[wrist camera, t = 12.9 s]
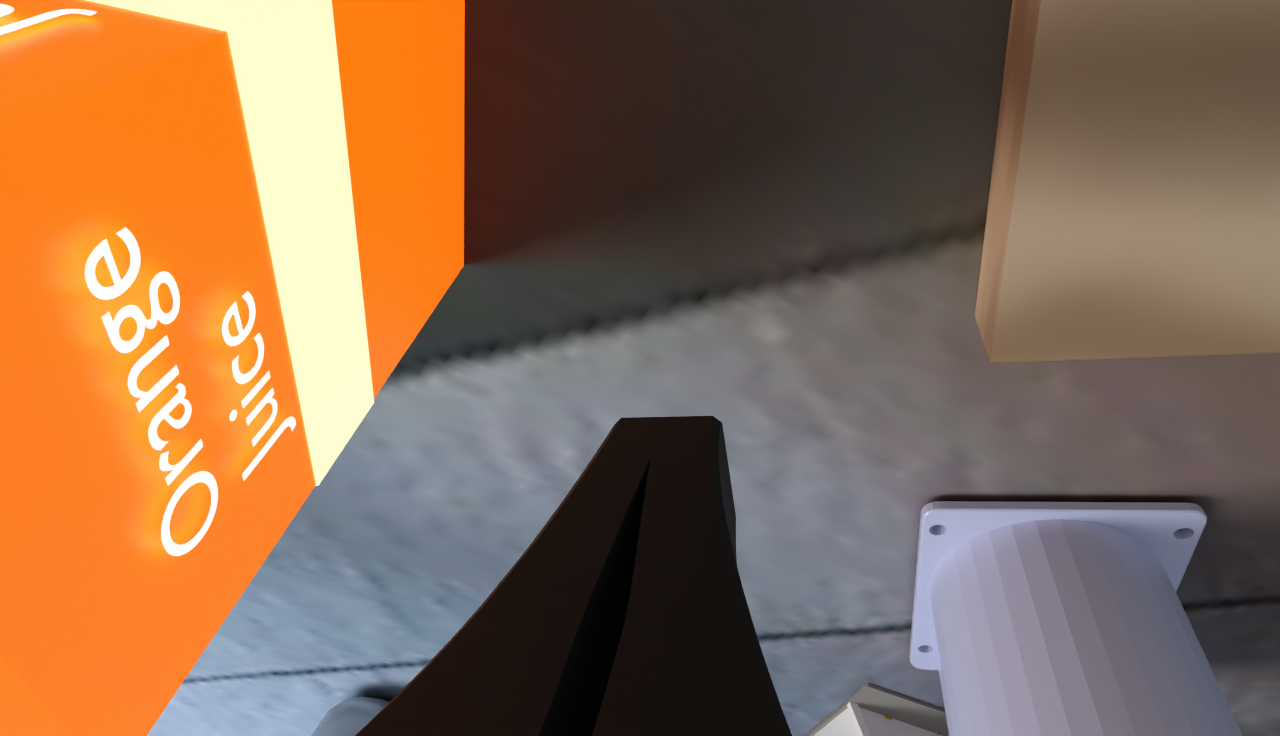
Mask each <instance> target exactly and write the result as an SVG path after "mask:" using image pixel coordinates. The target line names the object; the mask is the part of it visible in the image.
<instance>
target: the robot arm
mask: <svg viewBox="0 0 1280 736" xmlns="http://www.w3.org/2000/svg"><path fill="white" fill-rule="evenodd" d="M1206 523H1207V516H1206V514H1205V513H1204V511H1203V509H1202V508H1201V506H1199V505H1197V504H1194V503H1170V502H986V501H936V502H931V503H928V504H926V505H925V506H924V507H923V508H922V510H921V518H920V530H919V543H918V555H917V568H916V580H915V592H914V605H913V617H912V629H911V642H910V662H911V664H912V665H913V666H914V667H916V668H918V669H925V670H939V675H940V682H941V688H942V694H943V700H944V707H945V713H946V719H947V726H948V732H949V736H1243V735H1242V733H1241V731H1240V729H1239V727H1238V725H1237V722H1236V720H1235V718H1234V716H1233V714H1232V712H1231V709H1230V707H1229V705H1228V703H1227V701H1226V699H1225V697H1224V694H1223V692H1222V690H1221V688H1220V686H1219V684H1218V682H1217V679H1216V677H1215V675H1214V673H1213V671H1212V669H1211V667H1210V664H1209V662H1208V660H1207V658H1206V656H1205V654H1204V652H1203V649H1202V647H1201V645H1200V643H1199V641H1198V639H1197V637H1196V634H1195V632H1194V630H1193V628H1192V626H1191V624H1190V622H1189V619H1188V617H1187V615H1186V613H1185V611H1184V609H1183V606H1182V604H1181V602H1180V600H1179V598H1178V596H1177V594H1176V591H1177V589H1178V587H1179V585H1180V582H1181V580H1182V578H1183V575H1184V573H1185V571H1186V568H1187V566H1188V564H1189V562H1190V559H1191V557H1192V555H1193V552H1194V550H1195V548H1196V546H1197V543H1198V541H1199V539H1200V536H1201V534H1202V532H1203V529H1204V527H1205V525H1206ZM934 525H939V526H934ZM355 736H792V735H791V732H790V729H789V727H788V724H787V721H786V719H785V716H784V714H783V711H782V708H781V705H780V703H779V700H778V697H777V694H776V691H775V688H774V686H773V683H772V680H771V677H770V674H769V671H768V669H767V666H766V663H765V660H764V657H763V654H762V651H761V648H760V645H759V641H758V638H757V635H756V632H755V629H754V625H753V622H752V619H751V615H750V612H749V609H748V605H747V602H746V598H745V595H744V591H743V588H742V584H741V580H740V577H739V573H738V569H737V561H736V515H735V508H734V501H733V495H732V488H731V481H730V474H729V467H728V460H727V454H726V447H725V440H724V433H723V426H722V422H720V421H719V420H717V419H716V418H715V417H713V416H688V417H642V418H621V419H620V420H619V421H618V422H617V423H616V424H615V425H614V426H613V428H612V429H611V431H610V432H609V434H608V436H607V437H606V439H605V440H604V442H603V443H602V445H601V446H600V448H599V449H598V451H597V452H596V454H595V455H594V457H593V458H592V460H591V461H590V463H589V464H588V466H587V467H586V469H585V470H584V472H583V473H582V474H581V476H580V477H579V479H578V480H577V482H576V483H575V484H574V486H573V487H572V489H571V490H570V492H569V493H568V495H567V496H566V497H565V499H564V500H563V502H562V503H561V504H560V506H559V507H558V508H557V510H556V511H555V512H554V514H553V515H552V516H551V518H550V519H549V520H548V522H547V523H546V525H545V526H544V527H543V529H542V530H541V531H540V533H539V534H538V535H537V537H536V538H535V539H534V541H533V542H532V543H531V545H530V546H529V547H528V549H527V550H526V551H525V552H524V554H523V555H522V556H521V557H520V559H519V560H518V561H517V562H516V564H515V565H514V566H513V567H512V568H511V570H510V571H509V572H508V573H507V575H506V576H505V577H504V578H503V579H502V581H501V582H500V583H499V584H498V586H497V587H496V588H495V589H494V590H493V592H492V593H491V594H490V595H489V597H488V598H487V599H486V600H485V601H484V603H483V604H482V605H481V606H480V607H479V609H478V610H477V611H476V612H475V613H474V614H473V615H472V617H471V618H470V619H469V620H468V621H467V622H466V623H465V624H464V626H463V627H462V628H461V629H460V630H459V631H458V632H457V633H456V634H455V636H454V637H453V638H452V639H451V640H450V641H449V642H448V643H447V644H446V645H445V646H444V647H443V649H442V650H441V651H440V652H439V653H438V654H437V655H436V656H435V657H434V658H433V659H432V660H431V661H430V662H429V663H428V664H427V665H426V666H425V668H424V669H423V670H422V671H421V672H420V673H419V674H418V675H417V676H416V677H415V678H414V679H413V680H412V681H411V682H410V683H409V684H408V685H407V686H406V687H405V688H404V689H403V690H402V691H401V692H400V693H399V694H398V695H396V696H395V697H394V698H393V699H392V700H391V701H390V702H389V703H388V704H387V705H386V706H385V707H384V708H383V709H382V710H381V711H380V712H379V713H378V714H377V715H376V716H375V717H374V718H373V719H372V720H371V721H370V722H369V723H368V724H367V725H366V726H365V727H364V728H362V729H361V730H360V731H359V732H358V733H357V734H356V735H355Z"/></svg>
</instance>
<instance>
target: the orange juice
mask: <svg viewBox="0 0 1280 736" xmlns="http://www.w3.org/2000/svg"><path fill="white" fill-rule="evenodd" d="M464 28H465V0H0V736H147V734H148V733H149V731H150V730H151V728H152V727H153V725H154V724H155V722H156V721H157V719H158V718H159V716H160V715H161V713H162V712H163V710H164V709H165V707H166V706H167V705H168V703H169V702H170V700H171V699H172V697H173V696H174V694H175V693H176V691H177V690H178V688H179V687H180V685H181V684H182V682H183V681H184V679H185V678H186V676H187V675H188V673H189V672H190V670H191V669H192V667H193V666H194V664H195V663H196V662H197V660H198V659H199V657H200V656H201V654H202V653H203V651H204V650H205V648H206V647H207V645H208V644H209V642H210V641H211V639H212V638H213V636H214V635H215V633H216V632H217V630H218V629H219V627H220V626H221V624H222V623H223V622H224V620H225V619H226V617H227V616H228V614H229V613H230V611H231V610H232V608H233V607H234V605H235V604H236V602H237V601H238V599H239V598H240V596H241V595H242V593H243V592H244V590H245V589H246V587H247V586H248V584H249V583H250V581H251V580H252V579H253V577H254V576H255V574H256V573H257V571H258V570H259V568H260V567H261V565H262V564H263V562H264V561H265V559H266V558H267V556H268V555H269V553H270V552H271V550H272V549H273V547H274V546H275V544H276V543H277V541H278V540H279V539H280V537H281V536H282V534H283V533H284V531H285V530H286V528H287V527H288V525H289V524H290V522H291V521H292V519H293V518H294V516H295V515H296V513H297V512H298V510H299V509H300V507H301V506H302V504H303V503H304V501H305V500H306V498H307V497H308V496H309V494H310V493H311V491H312V490H313V488H314V487H315V486H318V485H319V484H320V482H321V481H322V480H323V478H324V477H325V475H326V474H327V472H328V471H329V469H330V468H331V466H332V465H333V463H334V462H335V460H336V459H337V457H338V456H339V454H340V453H341V451H342V450H343V448H344V447H345V445H346V444H347V442H348V441H349V439H350V438H351V436H352V435H353V433H354V432H355V430H356V429H357V427H358V426H359V424H360V423H361V421H362V420H363V418H364V417H365V415H366V414H367V412H368V411H369V409H370V408H371V406H372V405H373V403H374V398H375V396H376V395H377V393H378V392H379V390H380V389H381V387H382V386H383V384H384V383H385V381H386V380H387V378H388V377H389V375H390V374H391V373H392V371H393V370H394V368H395V367H396V365H397V364H398V362H399V361H400V359H401V358H402V356H403V355H404V353H405V352H406V350H407V349H408V347H409V346H410V344H411V343H412V341H413V340H414V338H415V337H416V335H417V334H418V332H419V331H420V330H421V328H422V327H423V325H424V324H425V322H426V321H427V319H428V318H429V316H430V315H431V313H432V312H433V310H434V309H435V307H436V306H437V304H438V303H439V301H440V300H441V298H442V297H443V295H444V294H445V292H446V291H447V290H448V288H449V287H450V285H451V284H452V282H453V281H454V279H455V278H456V276H457V275H458V273H459V272H460V270H461V269H462V267H463V266H464Z"/></svg>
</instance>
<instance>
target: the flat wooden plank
mask: <svg viewBox="0 0 1280 736" xmlns="http://www.w3.org/2000/svg"><path fill="white" fill-rule="evenodd" d="M975 318H976V321H977V325H978V328H979V331H980V334H981V337H982V340H983V343H984V346H985V349H986V352H987V355H988V358H989V361H990V363H1003V362H1031V361H1058V360H1086V359H1114V358H1142V357H1170V356H1198V355H1226V354H1254V353H1280V0H1012V7H1011V16H1010V24H1009V33H1008V41H1007V50H1006V58H1005V67H1004V75H1003V83H1002V92H1001V100H1000V109H999V117H998V126H997V134H996V143H995V151H994V159H993V168H992V176H991V185H990V193H989V202H988V210H987V219H986V227H985V236H984V244H983V252H982V261H981V269H980V278H979V286H978V295H977V303H976V312H975Z"/></svg>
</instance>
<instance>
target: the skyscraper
mask: <svg viewBox="0 0 1280 736" xmlns="http://www.w3.org/2000/svg"><path fill="white" fill-rule="evenodd" d="M805 736H949V732H948V726H947V719H946V713H945V709H942V708H939V707H937V706H934V705H931V704H928V703H925V702H922V701H919V700H916V699H913V698H910V697H907V696H904V695H901V694H898V693H895V692H893V691H890V690H887V689H884V688H881V687H878V686H875V685H872V684H869V683H867V684H866V685H865V686H864V687H862V688H861V689H860V690H859V691H858V692H856V693H855V694H854V695H853V696H852V697H851V698H849V699H848V700H847V701H846V702H845V703H843V704H842V705H841V706H840V707H839V708H837V709H836V710H835V711H834V712H833V713H831V714H830V715H829V716H828V717H827V718H825V719H824V720H823V721H822V722H821V723H820V724H818V725H817V726H816V727H815V728H814V729H812V730H811V731H810V732H809V733H808V734H806V735H805Z"/></svg>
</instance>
